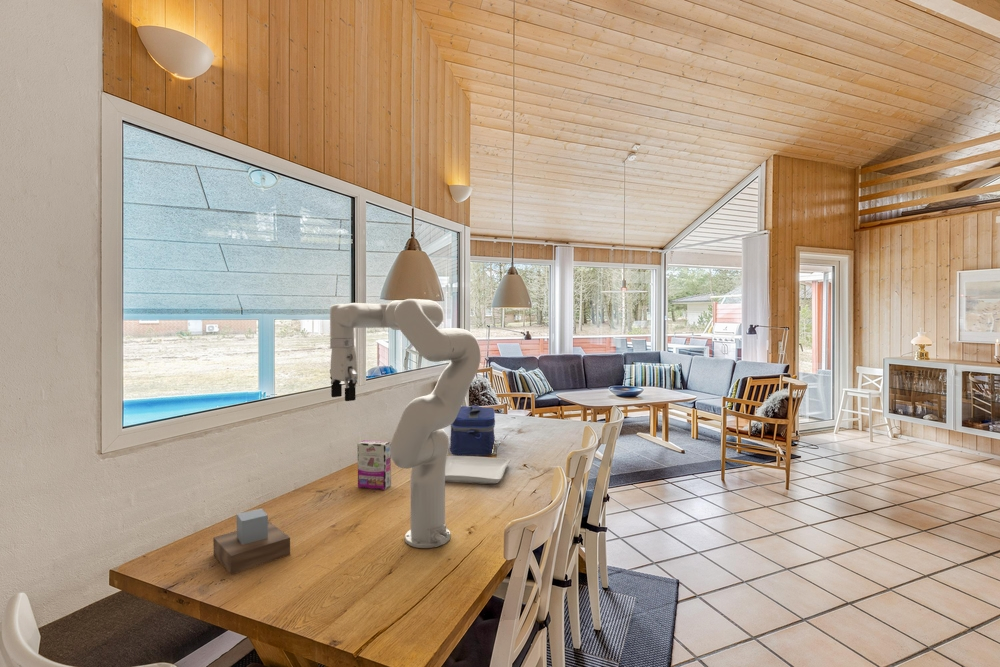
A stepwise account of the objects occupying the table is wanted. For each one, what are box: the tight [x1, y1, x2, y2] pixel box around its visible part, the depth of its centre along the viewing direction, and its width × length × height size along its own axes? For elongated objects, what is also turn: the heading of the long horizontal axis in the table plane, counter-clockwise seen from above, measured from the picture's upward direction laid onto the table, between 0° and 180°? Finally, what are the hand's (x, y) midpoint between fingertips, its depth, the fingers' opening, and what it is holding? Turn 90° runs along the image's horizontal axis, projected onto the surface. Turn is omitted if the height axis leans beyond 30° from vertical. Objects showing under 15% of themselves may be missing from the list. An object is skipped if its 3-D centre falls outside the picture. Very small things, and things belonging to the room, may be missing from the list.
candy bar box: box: [357, 440, 392, 491], centre depth 178 cm, size 11×5×16 cm, turn 76°
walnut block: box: [212, 521, 291, 576], centre depth 126 cm, size 14×14×5 cm
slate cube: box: [236, 507, 269, 545], centre depth 126 cm, size 6×6×6 cm
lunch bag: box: [449, 404, 496, 456], centre depth 231 cm, size 31×21×20 cm
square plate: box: [445, 455, 511, 485], centre depth 193 cm, size 27×27×4 cm
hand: (343, 398), depth 152 cm, fingers open, 9 cm apart
